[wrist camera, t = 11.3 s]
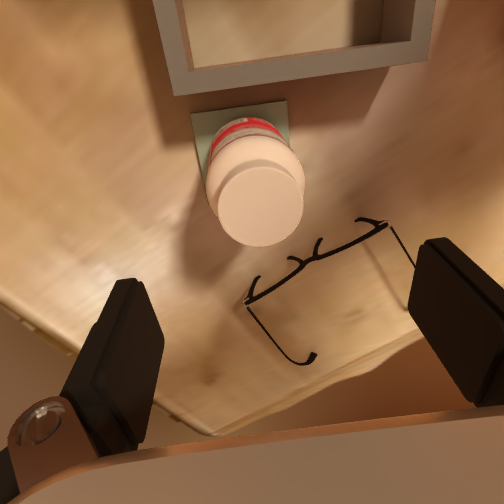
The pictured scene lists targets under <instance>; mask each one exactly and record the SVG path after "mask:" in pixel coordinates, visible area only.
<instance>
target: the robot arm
mask: <svg viewBox="0 0 504 504" xmlns="http://www.w3.org/2000/svg"><path fill="white" fill-rule="evenodd" d="M408 311H409V313H410V315H411V317H412V318H413V320H414V321H415V323H416V324H417V326H418V327H419V329H420V330H421V332H422V333H423V335H424V336H425V338H426V339H427V341H428V342H429V344H430V345H431V347H432V349H433V350H434V351H435V353H436V354H437V356H438V358H439V359H440V361H441V362H442V364H443V365H444V367H445V368H446V370H447V371H448V373H449V374H450V376H451V377H452V379H453V380H454V382H455V383H456V385H457V386H458V388H459V389H460V391H461V392H462V394H463V395H464V397H465V398H466V399H467V400H468V401H469V402H473V403H474V404H475V406H476V407H477V408H469V409H460V410H451V411H443V412H434V413H426V414H417V415H409V416H401V417H392V418H383V419H375V420H367V421H359V422H350V423H342V424H334V425H326V426H318V427H310V428H303V429H293V430H285V431H277V432H270V433H262V434H254V435H246V436H238V437H230V438H223V439H215V440H207V441H199V442H191V443H184V444H178V445H170V446H164V447H157V448H150V449H143V450H137V448H138V444H139V443H142V442H143V441H144V439H145V435H146V429H147V425H148V420H149V415H150V411H151V406H152V402H153V397H154V392H155V387H156V383H157V378H158V373H159V369H160V364H161V359H162V354H163V350H164V335H163V333H162V330H161V327H160V325H159V322H158V320H157V317H156V315H155V312H154V309H153V307H152V304H151V302H150V299H149V297H148V294H147V291H146V289H145V286H144V284H143V282H142V281H139V282H138V281H137V279H136V278H128V279H121V280H117V281H116V282H115V285H114V287H113V289H112V291H111V293H110V295H109V297H108V299H107V302H106V304H105V306H104V308H103V310H102V312H101V314H100V317H99V319H98V321H97V322H96V323H95V324H94V325H93V326H92V328H91V330H90V332H89V334H88V336H87V338H86V341H85V343H84V345H83V347H82V349H81V351H80V353H79V355H78V357H77V359H76V361H75V364H74V366H73V368H72V370H71V372H70V374H69V376H68V379H67V380H66V382H65V385H64V387H63V389H62V391H61V393H60V395H59V396H52V397H48V398H45V399H42V400H40V401H38V402H36V403H34V404H33V405H32V406H30V407H29V408H28V409H26V410H25V411H24V412H23V413H22V414H21V415H20V416H19V417H18V418H17V419H16V421H15V422H14V424H13V425H12V427H11V429H10V431H9V434H8V437H7V447H6V448H4V449H3V450H2V451H0V504H504V289H503V288H502V287H501V286H500V285H499V284H498V283H497V282H495V281H494V280H493V279H492V278H491V277H490V276H489V275H488V274H487V273H486V272H484V271H483V270H482V269H481V268H480V267H479V266H478V265H477V264H476V263H474V262H473V261H472V260H471V259H470V258H469V257H468V256H467V255H466V254H465V253H463V252H462V251H461V250H460V249H459V248H458V247H457V246H456V245H455V244H453V243H452V242H451V241H450V240H449V239H448V238H445V237H443V238H435V239H428V240H426V241H425V242H424V244H423V245H421V246H420V247H419V251H418V256H417V261H416V266H415V271H414V276H413V281H412V286H411V291H410V296H409V301H408Z"/></svg>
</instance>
